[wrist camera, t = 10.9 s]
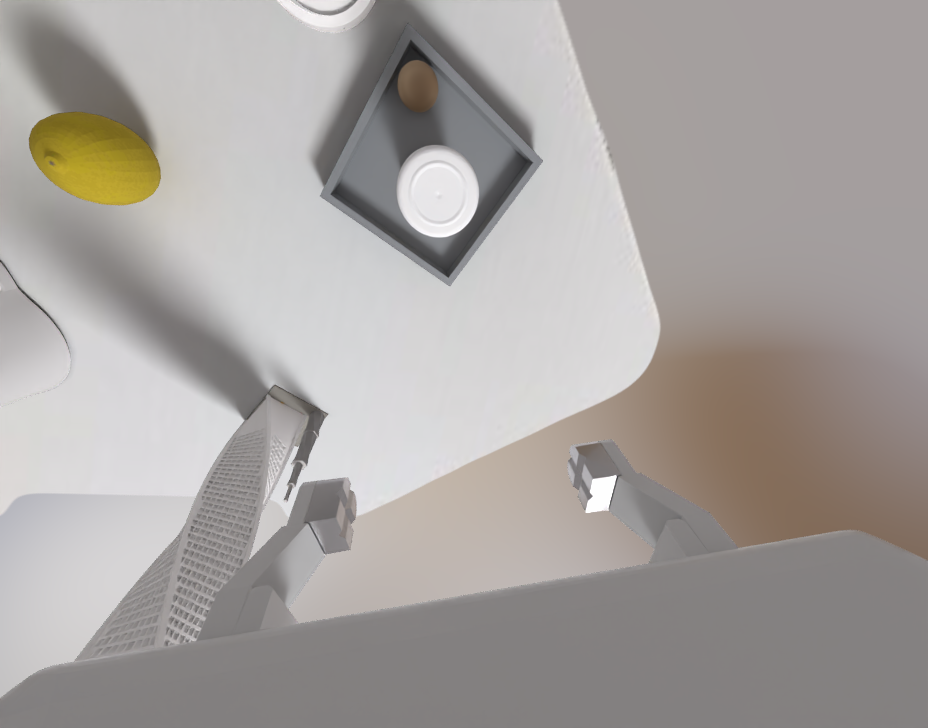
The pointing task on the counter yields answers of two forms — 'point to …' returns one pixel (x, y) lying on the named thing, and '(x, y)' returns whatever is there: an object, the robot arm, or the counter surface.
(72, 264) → the counter surface
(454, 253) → the tray
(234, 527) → the skyscraper
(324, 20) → the white hollow mechanical part
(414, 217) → the sprinkles bottle
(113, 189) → the lemon
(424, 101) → the wooden ball
